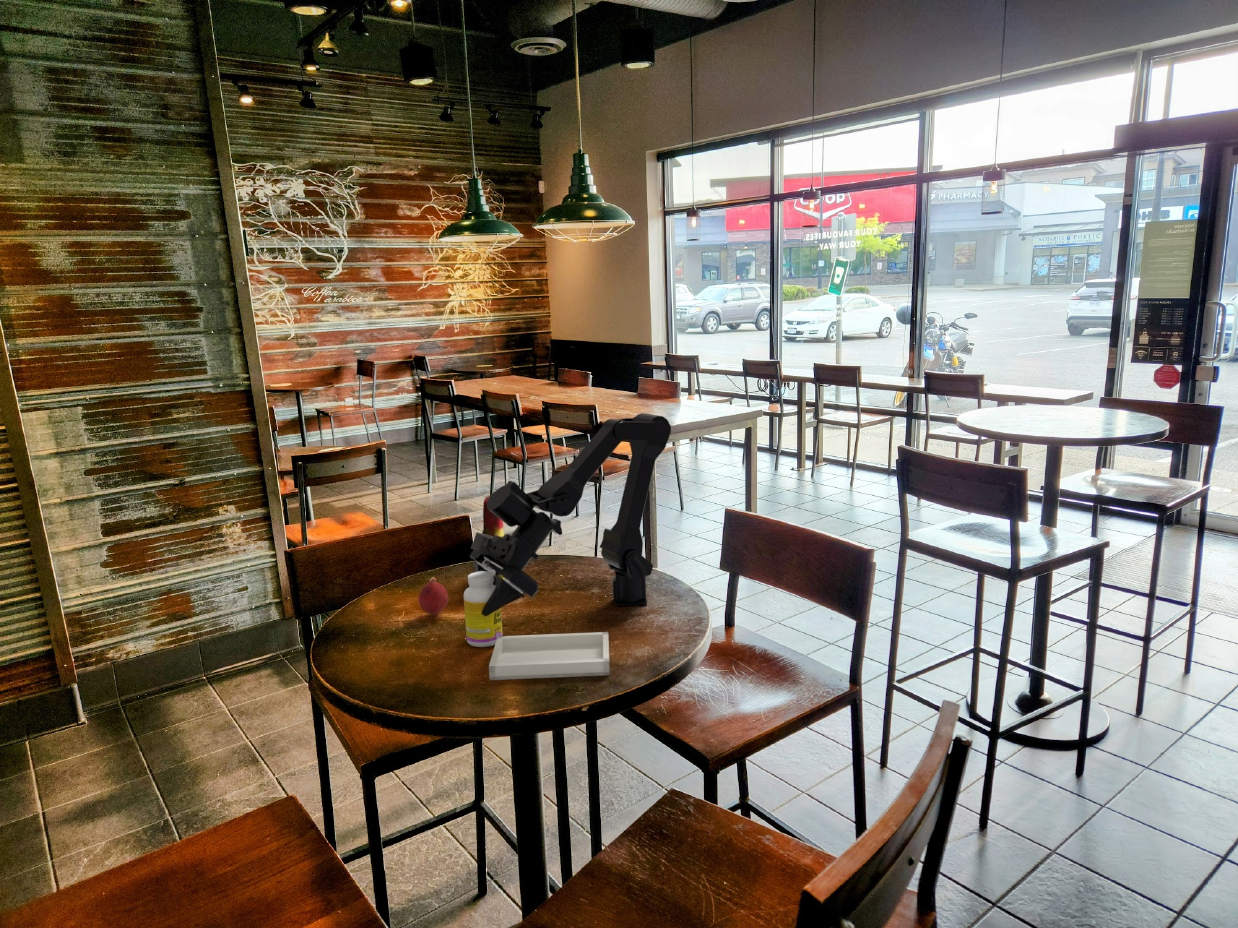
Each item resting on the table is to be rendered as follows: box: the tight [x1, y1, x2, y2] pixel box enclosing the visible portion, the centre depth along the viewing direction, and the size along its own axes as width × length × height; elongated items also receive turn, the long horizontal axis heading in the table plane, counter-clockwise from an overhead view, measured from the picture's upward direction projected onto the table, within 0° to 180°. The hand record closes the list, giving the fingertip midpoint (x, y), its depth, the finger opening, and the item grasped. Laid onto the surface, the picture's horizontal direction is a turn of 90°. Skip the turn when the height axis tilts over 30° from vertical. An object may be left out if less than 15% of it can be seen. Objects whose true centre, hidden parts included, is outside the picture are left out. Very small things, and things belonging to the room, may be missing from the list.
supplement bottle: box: [463, 571, 503, 648], centre depth 145 cm, size 7×7×13 cm
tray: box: [488, 631, 611, 681], centre depth 137 cm, size 20×12×2 cm, turn 92°
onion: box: [418, 577, 449, 617], centre depth 158 cm, size 6×6×8 cm
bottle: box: [481, 495, 506, 586], centre depth 176 cm, size 12×6×20 cm, turn 17°
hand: (475, 609), depth 144 cm, fingers closed on supplement bottle, 7 cm apart
